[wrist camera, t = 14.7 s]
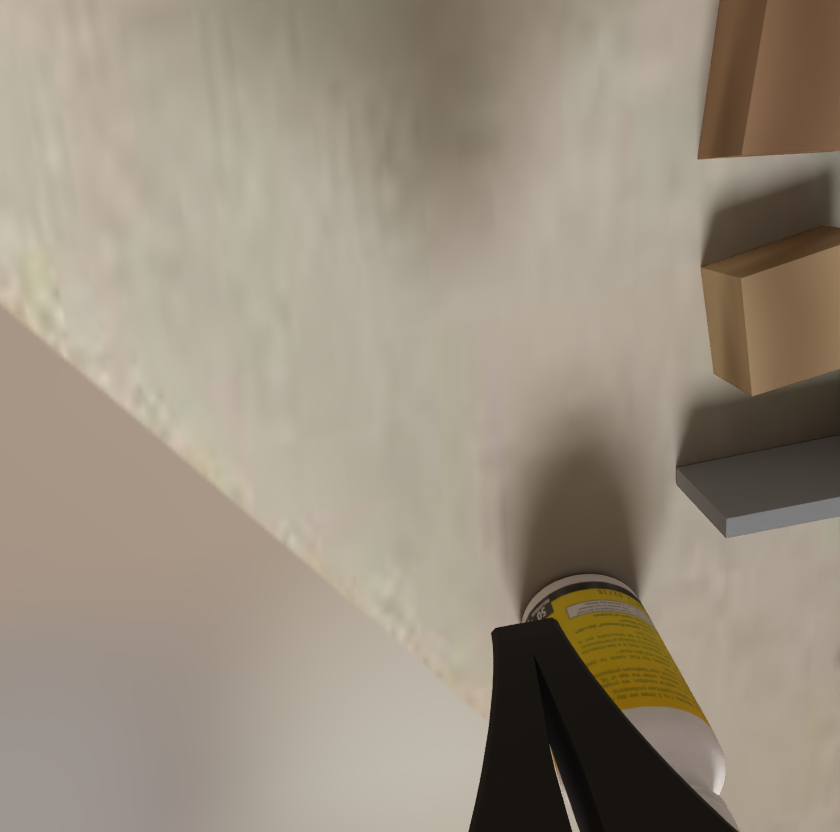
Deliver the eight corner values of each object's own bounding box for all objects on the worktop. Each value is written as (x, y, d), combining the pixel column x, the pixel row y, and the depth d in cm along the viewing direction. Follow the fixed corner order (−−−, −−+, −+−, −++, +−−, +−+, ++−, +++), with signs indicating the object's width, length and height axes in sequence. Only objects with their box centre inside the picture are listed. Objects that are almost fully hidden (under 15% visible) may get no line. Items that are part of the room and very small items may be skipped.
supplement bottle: (524, 569, 23) (606, 821, 14) (649, 568, 23) (810, 815, 14) (512, 662, 25) (577, 932, 16) (626, 660, 25) (754, 926, 16)
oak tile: (816, 225, 18) (879, 231, 15) (820, 336, 19) (878, 356, 17) (697, 266, 18) (740, 278, 16) (710, 371, 20) (752, 396, 17)
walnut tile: (853, -3, 15) (934, -38, 13) (819, 152, 17) (886, 146, 14) (715, 4, 15) (772, -29, 13) (694, 159, 17) (741, 155, 14)
